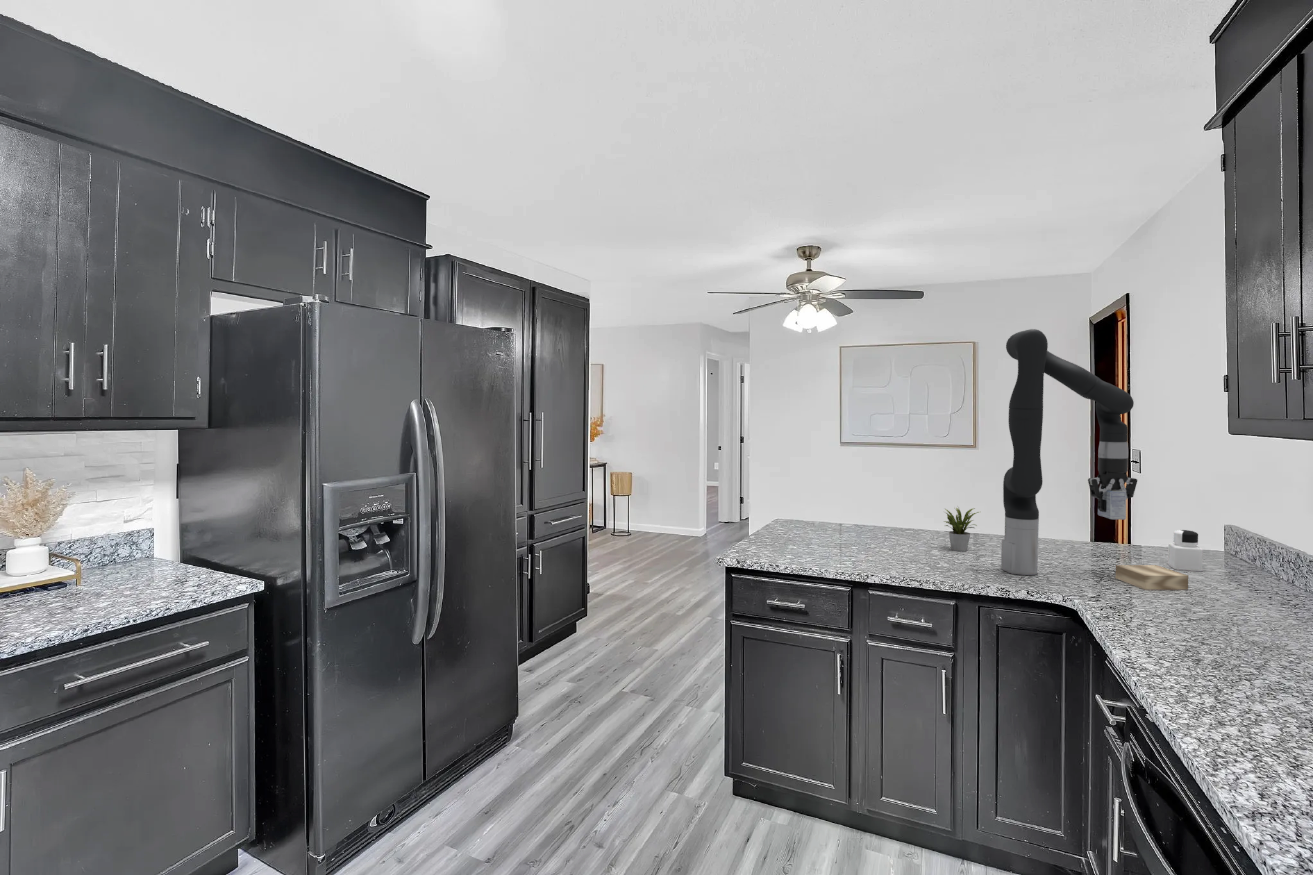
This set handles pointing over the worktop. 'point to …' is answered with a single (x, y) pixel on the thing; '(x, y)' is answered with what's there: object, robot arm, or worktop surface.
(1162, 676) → the worktop surface
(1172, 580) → the oak base
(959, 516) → the house plant
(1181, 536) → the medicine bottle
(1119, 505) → the medicine box
